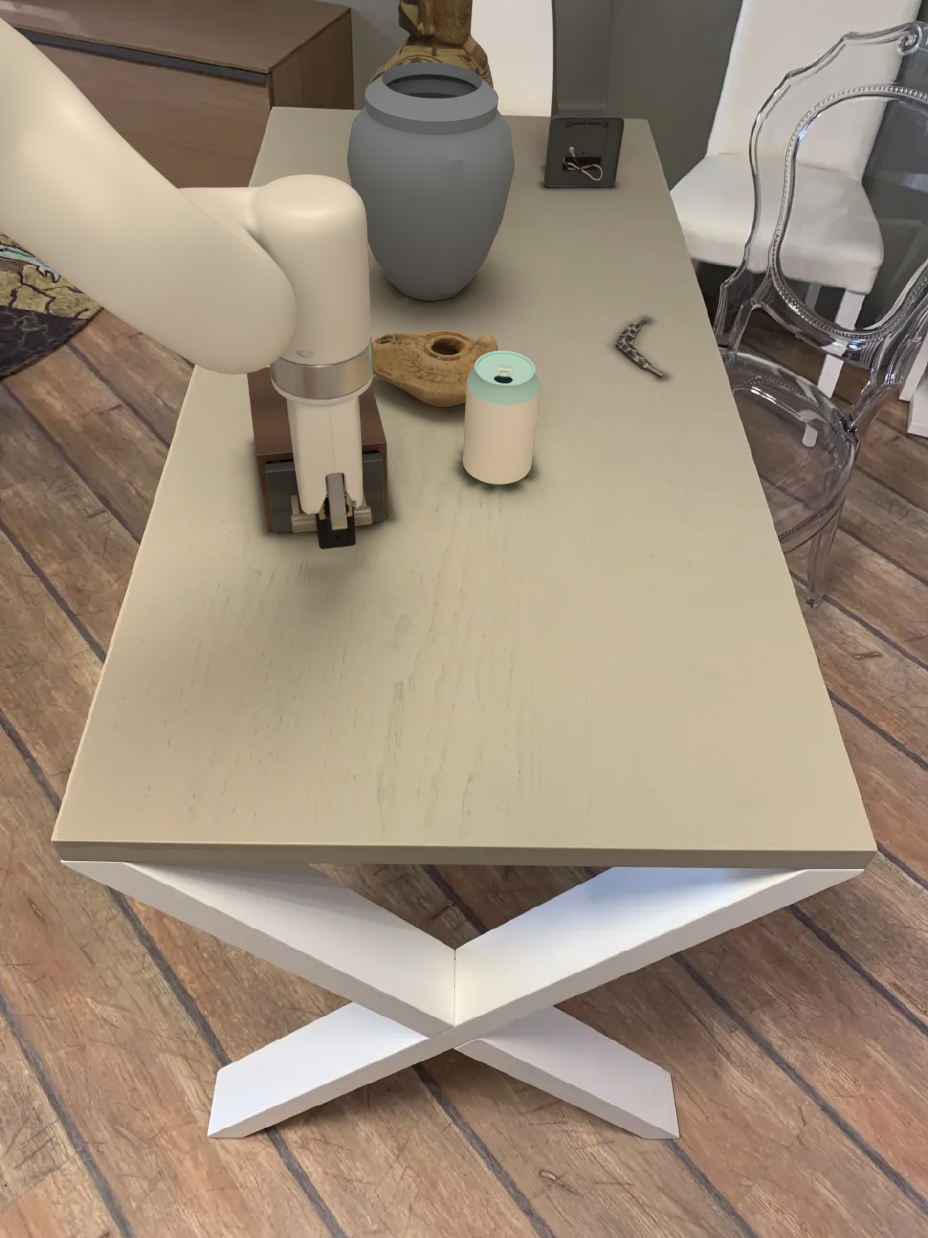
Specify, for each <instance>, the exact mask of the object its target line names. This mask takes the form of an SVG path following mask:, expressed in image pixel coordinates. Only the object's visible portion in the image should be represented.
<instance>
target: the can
mask: <svg viewBox="0 0 928 1238" xmlns="http://www.w3.org/2000/svg"><path fill="white" fill-rule="evenodd" d="M536 370H537V369H536V366H535V363H534V362H533V361H532V360H531V359H530V358H529V357H527V356H526V355H524V354H522V353H520V352H517V351H511V350H498V351H493V352H489V353H486V354H484V355H482V356H481V357H479V358H478V359H477V360H476V362H475V365H474V368H473V369H472V371H471V372H470V373H469V375H468V377H467V386H466V402H465V407H464V408H465V410H464V429H463V447H462V448H463V449H462V450H463V451H462V464H463V468H464V469H465V471H466V472H467V474H469V475H470V476H471V477H473V478H474V479H475V480H478V481H480V482H482V483H486V484H490V485H508V484H513V483H516V482H518V481H520V480H522V479H524V478H525V477H526V476H527V475H528V474H529V473H530V471H531V468H532V464H533V454H534V445H535V439H536V438H535V436H536V428H537V419H538V412H539V403H540V396H541V395H540V394H541V387H542V386H541V385H542V384H541V380H540V377H539V376H538V374H537V373H536Z"/></svg>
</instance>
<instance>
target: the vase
mask: <svg viewBox="0 0 928 1238" xmlns="http://www.w3.org/2000/svg"><path fill="white" fill-rule="evenodd" d="M493 88H494V87H493ZM493 88H492V87H491V86H490V85H489V84H487V83H486V82H485V81H484V80H483V79H482V78H481V77H480V76H479V75H478V74H476V73H475V72H473V71H471V70H469V69H467V68H464V67H461V66H457V65H453V64H447V63H438V62H417V63H408V64H403V65H399V66H396V67H393V68H391V69H389V70H387V71H386V72H385V73H384V74H383V75H382V76H380V77H379V78H378V79H376V80H375V81H374V82H372V83H371V84H370V85H369V84H368V86H366V89H365V91H364V99H365V100H364V101H365V105H364V106H363V108H362V109H360V111H359V113H357V115H356V116H355V117H354V119H353V121H352V124H351V128H350V129H351V130H350V135H349V142H348V149H347V155H346V164H347V165H346V167H347V171H348V175H349V181H350V186H351V187H352V188H353V189H355V190H356V192H357V193H358V194H359V196H360V197H361V199H362V201H363V203H364V207H365V210H366V219H367V237H368V247H369V248H370V251H371V253H372V255H373V257H374V260H375V261H376V263H377V264H378V265H379V268H380V269H381V270H382V271H383V273H384V275H385V276H386V278H387V280H388V281H390V282H391V283H392V285H393V286H394V287H395V288H396V289H397V290H398V291H399V292H400V293H401V294H403V295H405V296H406V297H409V298H412V299H416V300H419V301H425V302H434V301H435V302H436V301H442V300H446V299H449V298H452V297H454V296H456V295H458V294H459V293H460V292H461V291H462V290H463V289H464V288H465V287H466V286H467V285H468V284H469V283H470V282H472V279H473V278H475V276H476V274H477V273H478V271H479V270H480V268H481V267H482V266H483V264H484V262H485V261H486V259H487V257H488V255H489V252H490V250H491V249H492V245H493V243H494V241H495V239H496V236H497V234H498V233H499V232H498V231H499V230H500V227H501V225H502V222H503V221H504V215H505V213H506V212H505V211H506V207H507V202H508V198H509V193H510V190H511V186H512V180H513V178H514V177H513V176H514V172H515V156H514V155H515V154H514V148H513V139H512V133H511V128H510V125H509V123H508V122H507V120H506V119H505V118H504V116H503V115H502V114H501V112H500V111H499V109H498V106H499V95H498V92H497V91H496V90H495V89H493Z"/></svg>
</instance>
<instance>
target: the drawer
mask: <svg viewBox="0 0 928 1238" xmlns="http://www.w3.org/2000/svg"><path fill="white" fill-rule="evenodd" d="M264 466H265V474H266V481H267V488H268V494H269V501H270V508H271V514H272V521H273V528H274V531H273V533H274V534H279V533H280V534H281V533H287V532H288V533H289V532H293V534H297V533H305V532H313V531H317V527H316V518H315V513H314V514H306V513H305V512H304V511H303V510H302V508H301V503H300V497H299V491H298V485H297V478H296V471H295V465H294V459H285V460H275V461H272V463H271V464H265V465H264ZM362 473H363V501H362V504H361V505H360V507H359V508H357V509H356V508H355V507H353V509H354V519H355V527H357V526H365V525H372V524H373V523H375V522H384V521H385V518H384V490H383V460H382V456H381V453H371V451H364V452H362Z"/></svg>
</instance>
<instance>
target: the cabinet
mask: <svg viewBox="0 0 928 1238" xmlns="http://www.w3.org/2000/svg"><path fill="white" fill-rule="evenodd" d="M246 378H247V388H248V396H249V405H250V414H251V415H250V416H251V423H252V431H253V432H252V433H253V442H254V449H255V458H256V465H257V471H258V477H259V484H260V489H261V490H260V491H261V497H262V503H263V510H264V515H265V520H266V521H265V523H266V530H267V532H274V528H273V521H272V514H271V508H270V501H269V494H268V488H267V481H266V474H265V466H264V465H265V464H271V463H272V461H275V460H285V459H294V457H293V449H292V442H291V434H290V425H289V417H288V408H287V398H285V397H284V396H282V395H281V394H279V393H278V391H277V390H276V389H275V388H274V386H273V384H272V380H271V372H270V366H267V367H265V368H263V369H260V370H258V371H255V372H251V373H247V374H246ZM359 407H360V424H361V444H362V452H364V451H371V453H381V456H382V460H383V490H384V519H388V518H389V517H390V516H389V515H390V514H389V485H388V484H389V480H388V479H389V478H388V477H389V475H388V449H387V448H388V442H387V438H386V435H385V430H384V426H383V423H382V419H381V414H380V411H379V408H378V404H377V400H376V396H375V392H374V389H373V384H372V383H371V385H370V386H369V387H368V389H367V390H366V391H365V392H363V393H362V394H361V395H359Z"/></svg>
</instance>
